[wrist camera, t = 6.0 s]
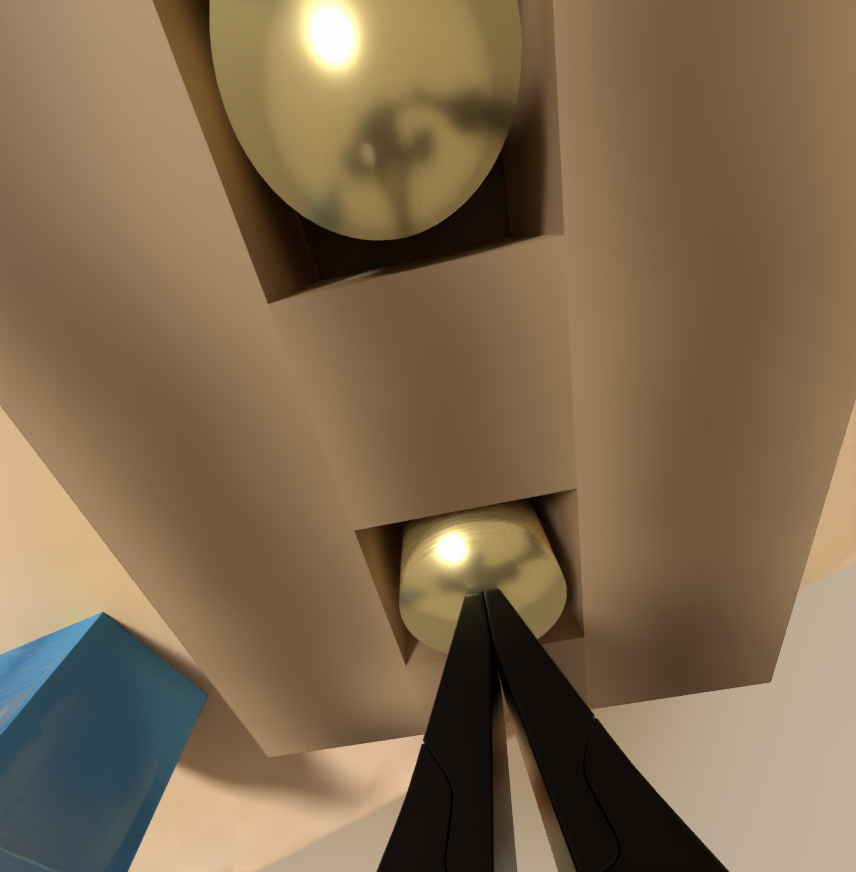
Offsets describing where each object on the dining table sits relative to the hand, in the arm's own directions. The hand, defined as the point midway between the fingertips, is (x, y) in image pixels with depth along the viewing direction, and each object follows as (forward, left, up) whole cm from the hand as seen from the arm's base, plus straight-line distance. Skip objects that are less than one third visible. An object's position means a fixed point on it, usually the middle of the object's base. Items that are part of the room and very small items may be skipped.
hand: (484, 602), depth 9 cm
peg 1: (0, -10, -4) cm, 11 cm away
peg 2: (0, 0, -4) cm, 4 cm away
